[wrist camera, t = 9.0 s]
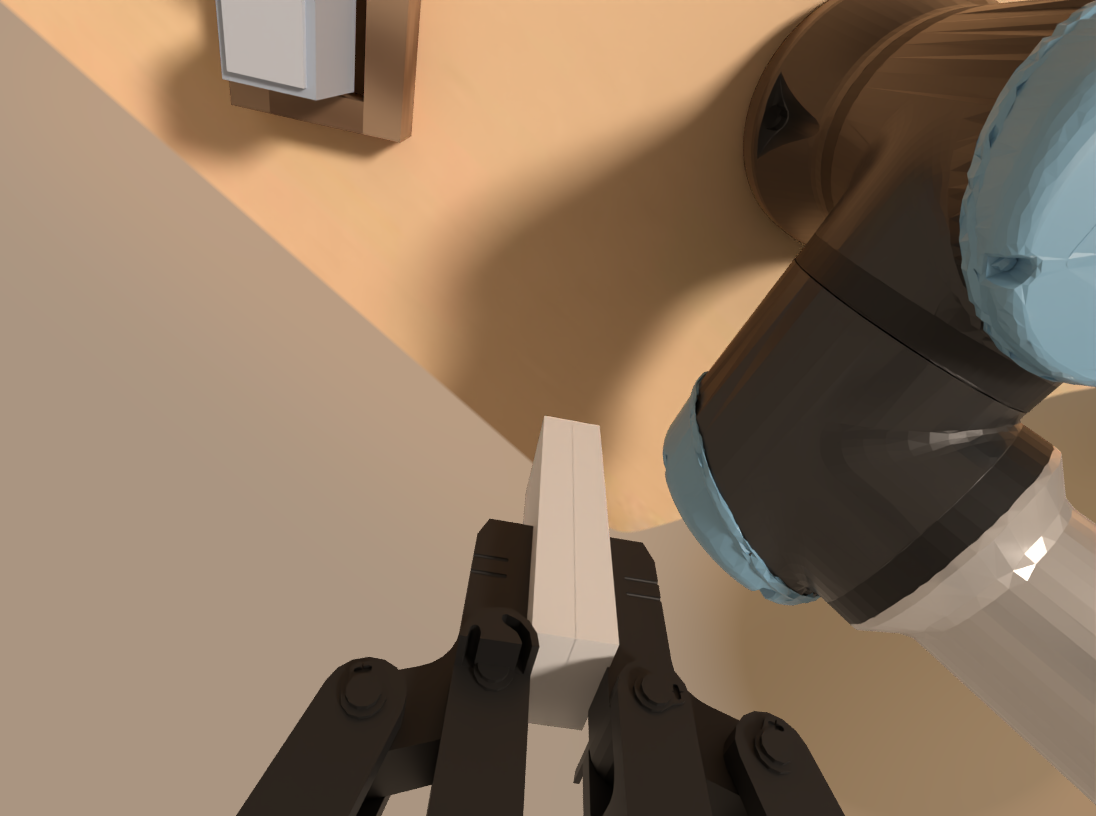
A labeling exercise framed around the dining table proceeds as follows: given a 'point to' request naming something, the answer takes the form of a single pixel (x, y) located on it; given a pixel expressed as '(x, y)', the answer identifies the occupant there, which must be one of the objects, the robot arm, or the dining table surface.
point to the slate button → (289, 45)
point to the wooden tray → (384, 80)
